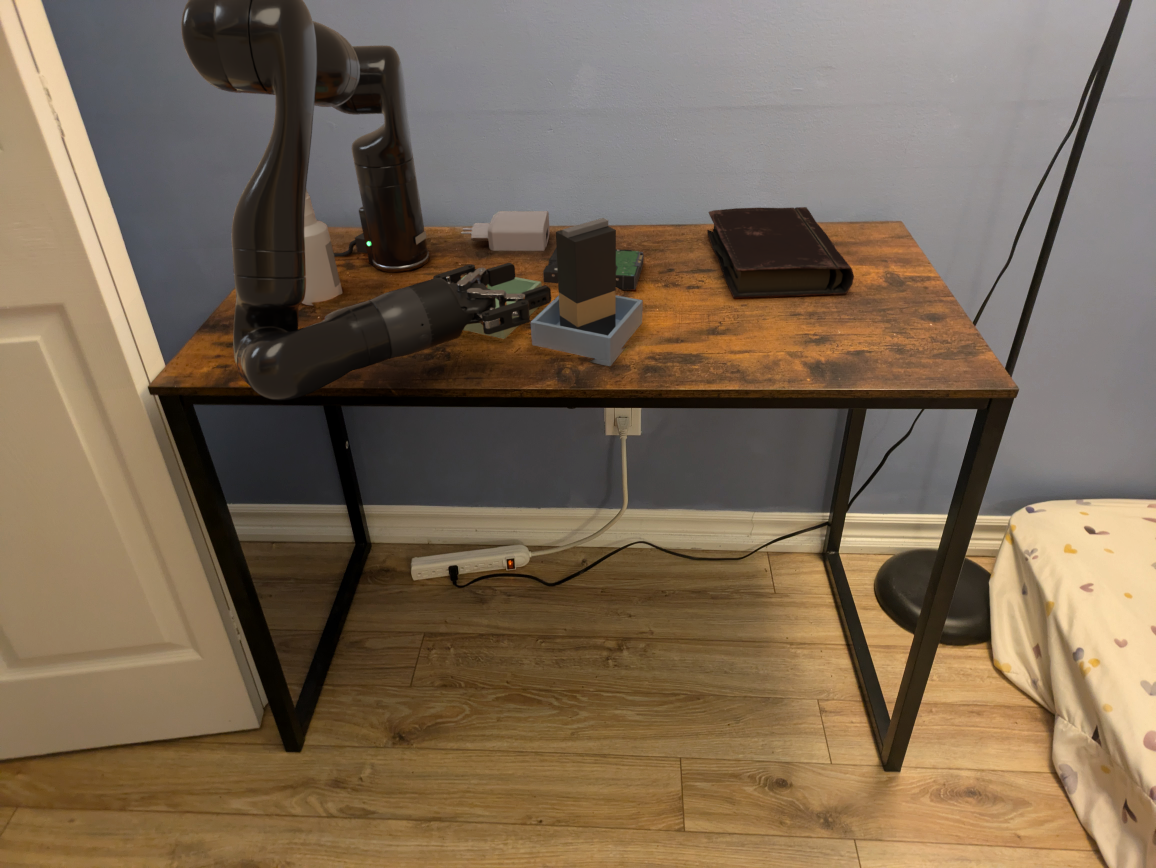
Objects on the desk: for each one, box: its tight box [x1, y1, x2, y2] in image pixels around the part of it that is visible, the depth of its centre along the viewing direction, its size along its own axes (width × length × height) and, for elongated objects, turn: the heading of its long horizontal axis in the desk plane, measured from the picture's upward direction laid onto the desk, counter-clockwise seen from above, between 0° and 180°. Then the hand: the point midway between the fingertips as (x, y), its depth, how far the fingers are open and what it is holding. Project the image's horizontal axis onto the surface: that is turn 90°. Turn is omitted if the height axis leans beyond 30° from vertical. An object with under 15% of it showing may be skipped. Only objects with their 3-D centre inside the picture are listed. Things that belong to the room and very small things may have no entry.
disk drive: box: [542, 247, 645, 291], centre depth 123 cm, size 10×3×15 cm
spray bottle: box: [301, 188, 343, 307], centre depth 115 cm, size 7×7×18 cm
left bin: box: [461, 275, 543, 340], centre depth 112 cm, size 12×12×4 cm
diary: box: [706, 206, 855, 299], centre depth 124 cm, size 19×25×5 cm
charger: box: [460, 210, 550, 252], centre depth 134 cm, size 5×9×15 cm
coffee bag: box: [555, 217, 617, 336], centre depth 102 cm, size 4×6×16 cm
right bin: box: [529, 294, 644, 367], centre depth 106 cm, size 12×12×4 cm
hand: (530, 281), depth 97 cm, fingers open, 8 cm apart
